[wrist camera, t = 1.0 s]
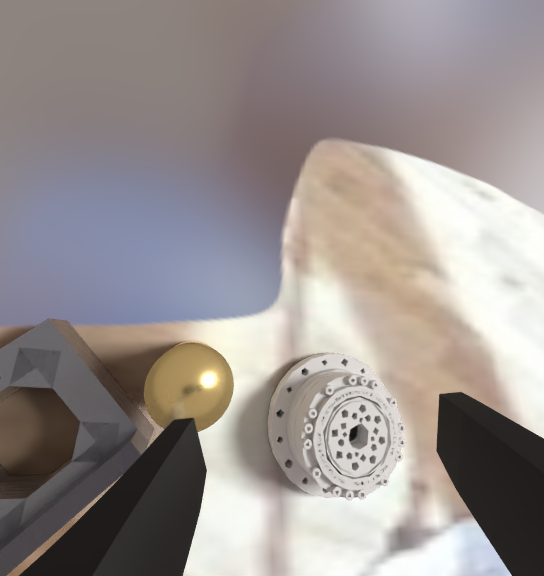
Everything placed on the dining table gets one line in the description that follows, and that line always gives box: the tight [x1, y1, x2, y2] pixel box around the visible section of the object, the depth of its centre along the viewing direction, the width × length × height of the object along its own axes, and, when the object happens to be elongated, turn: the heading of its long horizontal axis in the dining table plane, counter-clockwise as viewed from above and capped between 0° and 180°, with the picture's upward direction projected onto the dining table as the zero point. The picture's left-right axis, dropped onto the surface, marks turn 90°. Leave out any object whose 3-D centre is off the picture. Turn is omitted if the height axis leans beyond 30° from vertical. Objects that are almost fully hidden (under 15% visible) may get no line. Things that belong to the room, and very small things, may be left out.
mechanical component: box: [267, 353, 406, 501], centre depth 20 cm, size 10×4×10 cm
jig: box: [0, 319, 154, 576], centre depth 15 cm, size 9×9×4 cm
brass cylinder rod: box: [144, 341, 234, 432], centre depth 16 cm, size 4×4×7 cm
